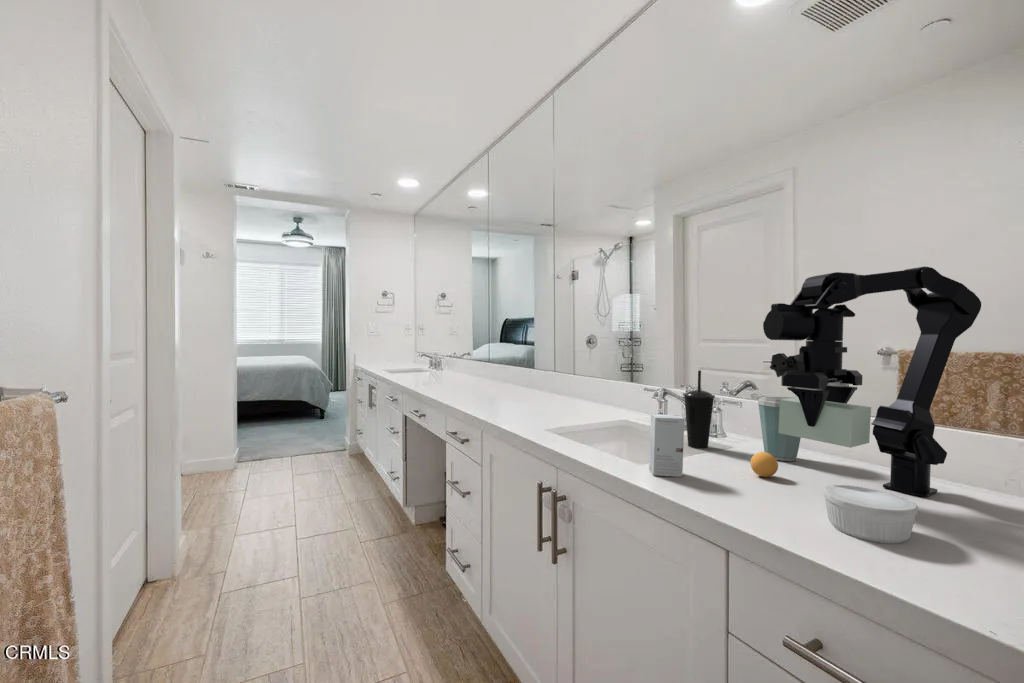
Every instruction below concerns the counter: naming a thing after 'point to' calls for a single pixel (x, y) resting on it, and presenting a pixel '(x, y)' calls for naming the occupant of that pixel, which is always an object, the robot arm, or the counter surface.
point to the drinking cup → (698, 416)
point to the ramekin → (870, 513)
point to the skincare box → (666, 445)
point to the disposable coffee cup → (776, 431)
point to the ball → (764, 464)
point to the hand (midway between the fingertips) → (821, 424)
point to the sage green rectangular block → (827, 423)
